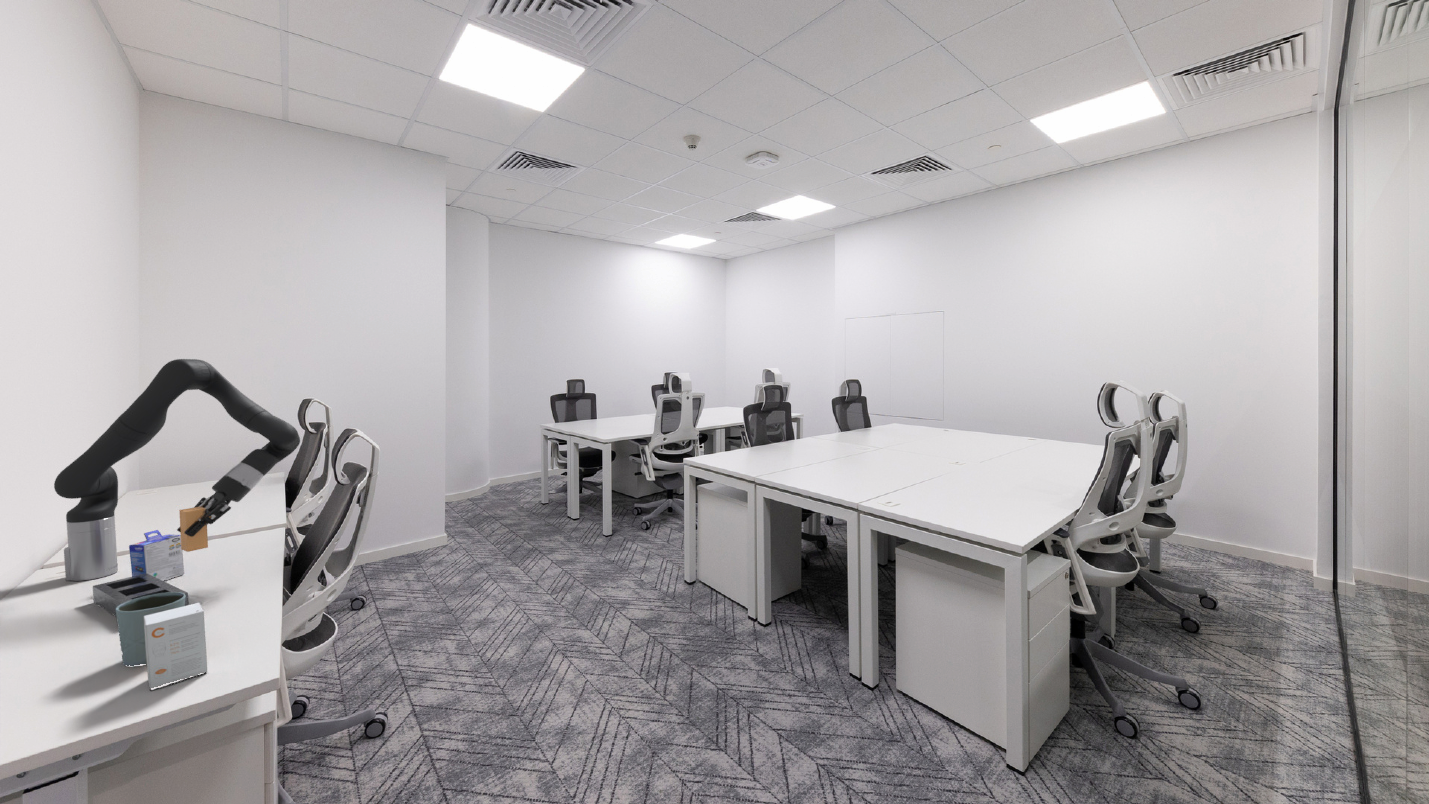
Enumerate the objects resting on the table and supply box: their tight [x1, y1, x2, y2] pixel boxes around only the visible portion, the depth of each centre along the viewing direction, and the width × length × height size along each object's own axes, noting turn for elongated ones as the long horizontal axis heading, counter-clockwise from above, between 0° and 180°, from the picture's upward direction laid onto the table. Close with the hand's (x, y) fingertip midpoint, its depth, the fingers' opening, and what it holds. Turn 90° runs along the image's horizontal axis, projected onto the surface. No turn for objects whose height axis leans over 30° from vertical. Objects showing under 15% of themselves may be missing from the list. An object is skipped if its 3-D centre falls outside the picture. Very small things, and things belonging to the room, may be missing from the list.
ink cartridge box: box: [128, 529, 185, 582], centre depth 153 cm, size 10×6×14 cm, turn 174°
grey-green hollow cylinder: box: [115, 592, 186, 666], centre depth 112 cm, size 10×10×12 cm
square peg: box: [179, 506, 209, 553], centre depth 145 cm, size 4×4×11 cm
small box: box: [144, 602, 208, 690], centre depth 104 cm, size 8×6×13 cm
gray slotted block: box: [92, 573, 190, 618], centre depth 136 cm, size 28×10×4 cm, turn 62°
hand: (184, 533), depth 143 cm, fingers closed on square peg, 4 cm apart
